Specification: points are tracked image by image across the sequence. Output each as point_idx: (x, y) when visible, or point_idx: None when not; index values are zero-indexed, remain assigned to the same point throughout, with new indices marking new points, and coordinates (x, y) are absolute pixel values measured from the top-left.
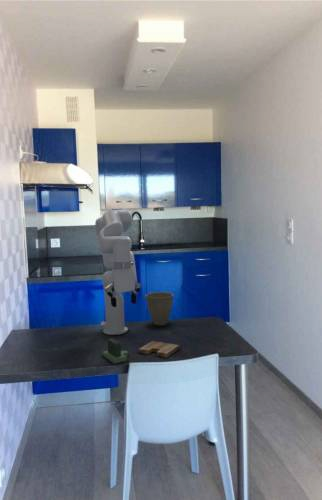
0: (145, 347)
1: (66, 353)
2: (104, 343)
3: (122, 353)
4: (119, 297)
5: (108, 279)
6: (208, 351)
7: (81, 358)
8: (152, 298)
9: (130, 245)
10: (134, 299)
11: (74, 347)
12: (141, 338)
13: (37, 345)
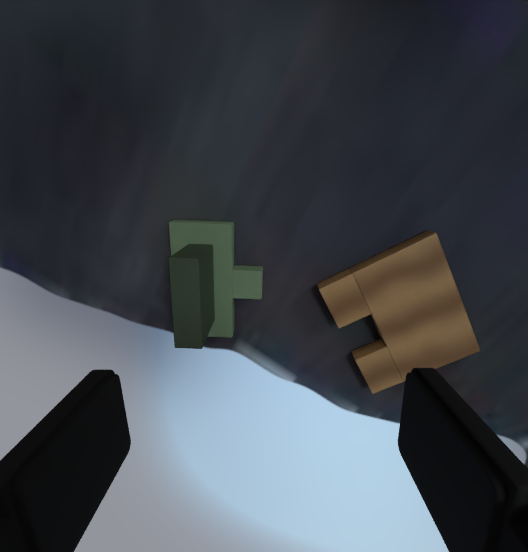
0: (352, 291)
1: (31, 81)
2: (250, 46)
3: (233, 297)
4: None
5: None
6: (523, 418)
7: (84, 197)
8: None
9: None
10: (430, 504)
11: (85, 3)
12: (455, 98)
13: None
